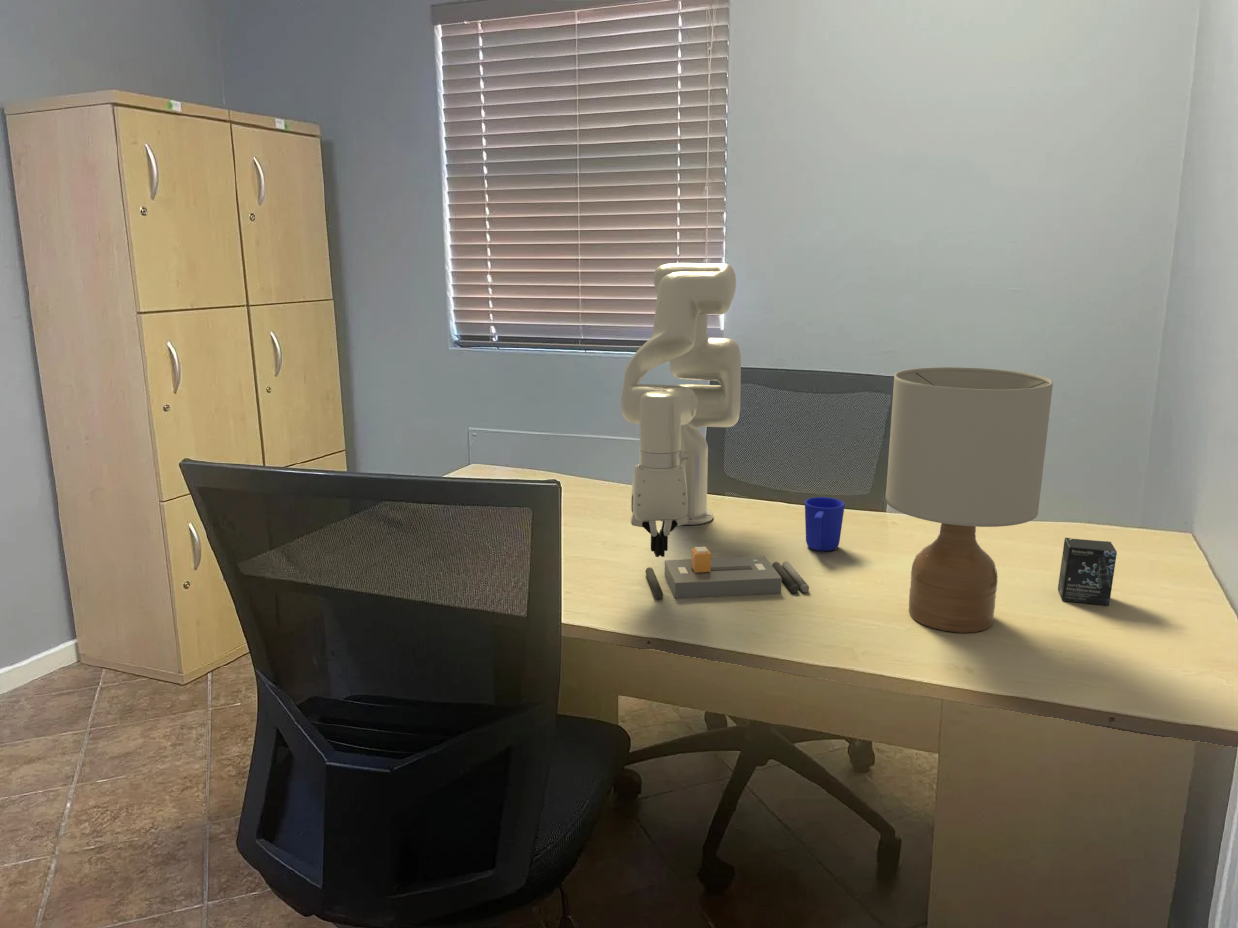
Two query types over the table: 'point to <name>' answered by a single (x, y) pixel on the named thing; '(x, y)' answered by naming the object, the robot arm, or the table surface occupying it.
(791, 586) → the grey capsule
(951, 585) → the lamp
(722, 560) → the slider switch box
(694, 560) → the block
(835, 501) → the mug
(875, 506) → the table surface
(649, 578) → the dark grey rounded rod
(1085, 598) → the box
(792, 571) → the light grey rod
